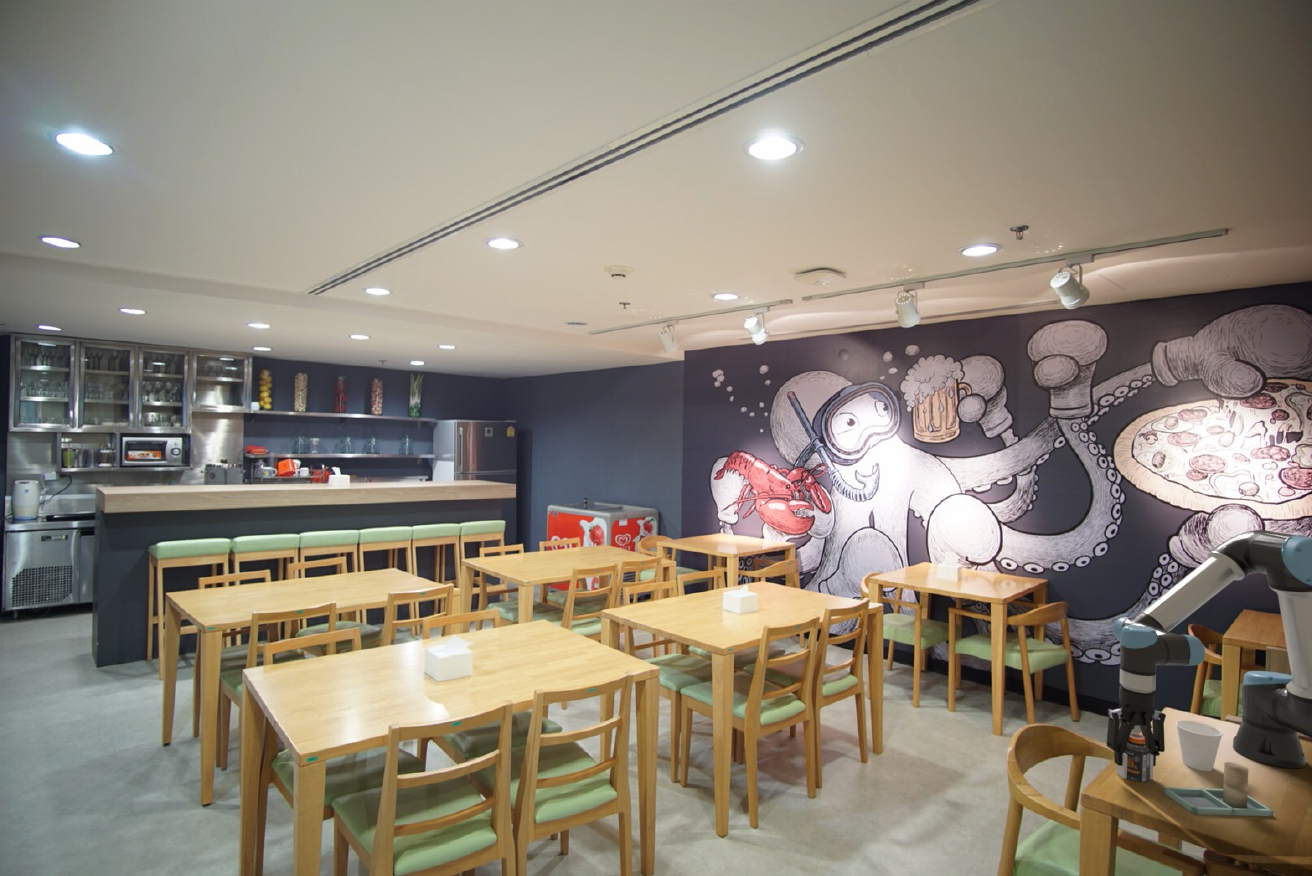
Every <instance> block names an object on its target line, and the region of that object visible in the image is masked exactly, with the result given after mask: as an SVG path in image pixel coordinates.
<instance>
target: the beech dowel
mask: <svg viewBox="0 0 1312 876" xmlns="http://www.w3.org/2000/svg"><path fill="white" fill-rule="evenodd" d="M1222 789H1223V802H1224V803H1226V804H1227V805H1229V806H1231V807H1233V808H1247V797H1248V796H1249V793H1248V790H1249V768H1248V767H1247V766H1244V765H1243V764H1239V763H1236V762H1229V761H1225V762H1224V766H1223V788H1222Z"/></svg>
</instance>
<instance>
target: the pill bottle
mask: <svg viewBox="0 0 1312 876" xmlns="http://www.w3.org/2000/svg"><path fill="white" fill-rule="evenodd" d="M1149 752H1150V750H1149V748H1148V746H1147V745H1145V737H1144V736H1143V735H1142V734H1139V733H1136V732H1131V734H1130V737H1129V740H1128V743H1127V746H1126V749H1125V752H1124V753H1126V754H1127V779H1128V780H1130V781H1133V782H1139V783H1147V782H1149V780H1150V779H1149Z"/></svg>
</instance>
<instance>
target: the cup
mask: <svg viewBox="0 0 1312 876" xmlns="http://www.w3.org/2000/svg"><path fill="white" fill-rule="evenodd" d="M1175 726H1176V729H1177V734H1178V740H1179V748H1180V754H1181V762H1182V765H1185V766H1186V767H1188V768H1191V769H1194V770H1198V771H1202V772H1212V771H1213V770H1214V766H1215V764H1216V763H1215V762H1216V759H1217V754H1218V752H1219V751H1218V750H1219V747H1220V743H1221V740H1222V737H1223V736H1224V733H1223V731H1222V730H1220V729H1219V728H1216V726H1215V727H1214V726H1212V725H1210V724H1207V723H1204V722H1199V721H1194V720H1187V719H1185V720H1183V719H1181V720H1177V721H1176V722H1175Z"/></svg>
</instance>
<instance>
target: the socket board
mask: <svg viewBox="0 0 1312 876" xmlns="http://www.w3.org/2000/svg"><path fill="white" fill-rule="evenodd" d="M1162 792H1163V794H1164V795H1166V796H1168V797H1169V798H1170V799H1171V800H1173V801H1174V802H1176V803H1177V804H1179V805H1180V806H1182V807H1183V808H1184V809H1186V810H1187V811H1189V812H1190V813H1191V814H1193V815H1207V816H1208V815H1209V816H1210V815H1212V816H1213V815H1214V816H1215V815H1216V816H1249V817H1252V816H1253V817H1274V810H1272V809H1271V808H1269V807H1268V806H1267V805H1264V804H1262V803H1261V802H1259V801H1258V800H1256V799H1255V798H1253V797H1252V796H1250V795H1248V797H1247V808H1233V807H1231V806H1229V805H1227V804H1226V803H1224V802H1223V788H1209V787H1206V788H1204V787H1203V788H1200V787H1167V786H1164V787H1163V788H1162Z"/></svg>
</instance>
